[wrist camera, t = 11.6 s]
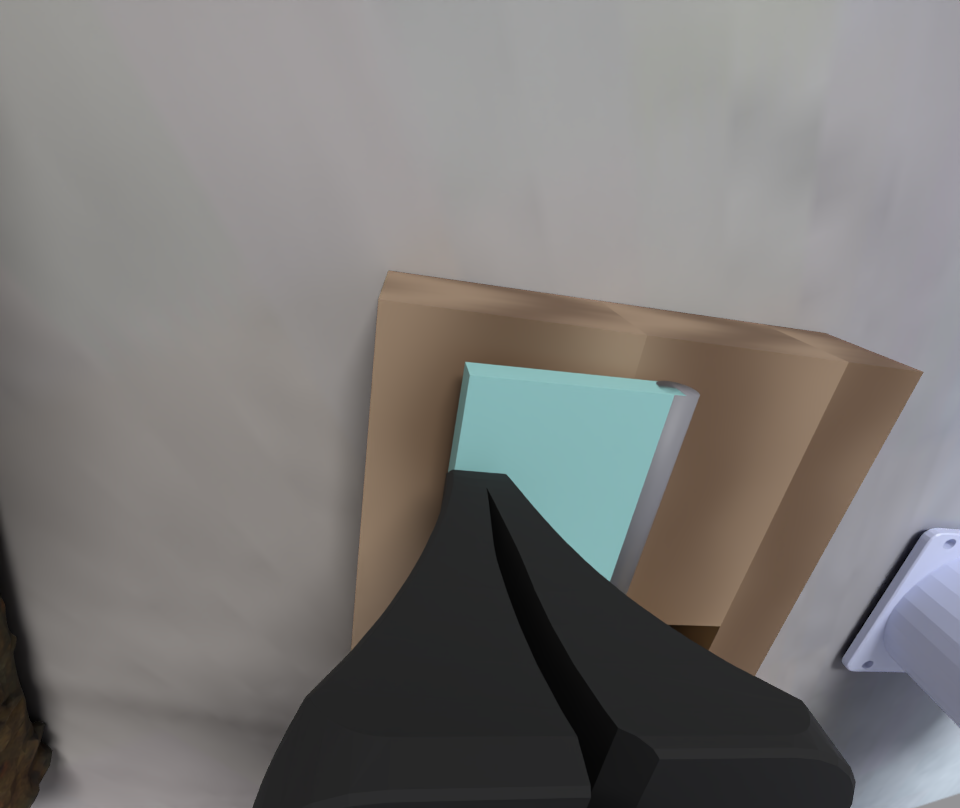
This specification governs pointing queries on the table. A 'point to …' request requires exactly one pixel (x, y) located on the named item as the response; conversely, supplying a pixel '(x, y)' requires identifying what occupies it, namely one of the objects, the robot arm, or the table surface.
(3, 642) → the dark brown log
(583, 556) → the teal flat square block
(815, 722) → the robot arm
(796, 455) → the block
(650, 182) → the table surface
